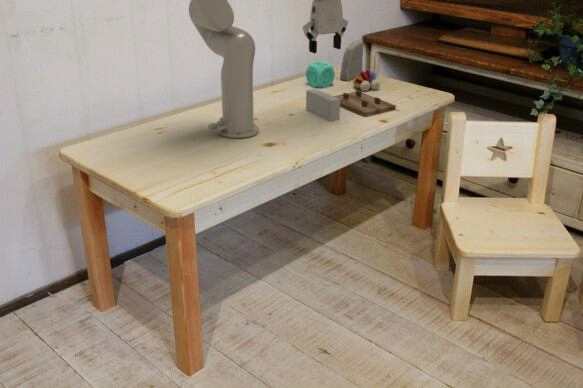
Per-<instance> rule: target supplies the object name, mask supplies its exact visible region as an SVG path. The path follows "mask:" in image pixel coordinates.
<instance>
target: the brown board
mask: <svg viewBox="0 0 583 388" xmlns="http://www.w3.org/2000/svg"><path fill="white" fill-rule="evenodd" d="M333 96H334V97H336V98H339V99H340V108H343V109H345V110H347V111H349V112H352V113H354V114H356V115H358V116H361V117H363V118H367V117H371V116H374V115H378V114H380V115H381V114H382V113H383V114H384V113H387V112H392V111H396V110H397V109H396V108H397V105H395V104H394V103H393V104H392V103H391V102H388V101H385V100H383V99H381V98H380V97H377V96H376V97H375V96H372V95H370V94H367V93H364V92H363V91H362V90H358V89H356V90H355V91H353V92H352V91H351V92H348V93H347V92H343V93H342V94H338V95H333Z"/></svg>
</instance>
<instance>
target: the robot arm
mask: <svg viewBox="0 0 583 388" xmlns="http://www.w3.org/2000/svg"><path fill="white" fill-rule="evenodd" d="M342 5H343V4H342V0H312V4H311V9H310V17H309V19H310V20H309V21H308V22H307V23H306V24H304V25H303V26H302V31H303V33H304V36H305V37H306V38H307V40H308V51H309V52H310V53H312V54H317V51H318V49H317V47H318V41H317V38H318V36H320V35H328V34H334V35H333V43H332V44H333V45H332V47H333V48H334V49H336V50H341V49H342V48H341V47H342V37H343V36H344V33H345V32H346V30H347V27H348V24H349V21H348V20H346V19H345V18H344V17H343V16H344V15H343V6H342ZM188 13H189V14H188V15H189V18H190V20H191V23H192V24H193V25H194V28H195V29H196V31H197V32H198V33H199V35H200V36H201V39H203V42H204V43H205V45H206V46H207V47H208V48H209V49H210V50H211V52H212V53H214V54H216V55H218V56H220V57H222V58H223V61H222V65H221V71H220V83H221V84H220V85H221V86H220V87H221V89H220V90H221V107H222V108H221V113H222V117H219V120H218V121H217V122H214V123H209V124H208V130H209V131H212V130H213V131H214V130H215V131H217V132H218V134H219V135H220V136H223V137H225V138H230V139H245V138H246V139H247V138H251V137H254V136H256V135H257V134H258V133H259V132H260V130H259V126H258V125H257V124H256V123H254V122H255V121H254V79H253V77H254V76H253V75H254V74H253V73H254V72H253V71H254V61H255V55H256V43H255V40H254V39H253V36H252V35H251V34H250V33H249V32H247V31H246V30H244V29H242V28H239V27H236V26H233V24H234V22H235V14H234V10H233V8H232V6H231V4H230V3H229V1H228V0H190V2H189V4H188Z"/></svg>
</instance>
